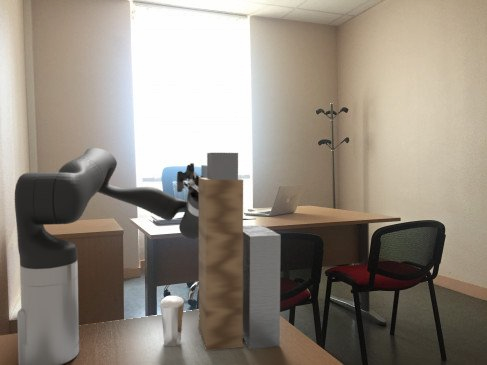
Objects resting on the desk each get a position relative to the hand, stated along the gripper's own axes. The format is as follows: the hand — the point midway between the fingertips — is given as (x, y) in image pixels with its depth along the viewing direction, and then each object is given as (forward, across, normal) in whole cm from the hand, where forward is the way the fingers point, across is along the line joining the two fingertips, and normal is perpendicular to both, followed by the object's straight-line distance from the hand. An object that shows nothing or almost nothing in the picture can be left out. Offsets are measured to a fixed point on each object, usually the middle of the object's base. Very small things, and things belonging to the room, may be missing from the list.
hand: (211, 166), depth 88 cm
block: (+3, 0, +5) cm, 6 cm away
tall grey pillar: (-8, +8, +35) cm, 37 cm away
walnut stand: (-9, 0, +35) cm, 36 cm away
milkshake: (-8, -9, +35) cm, 37 cm away
